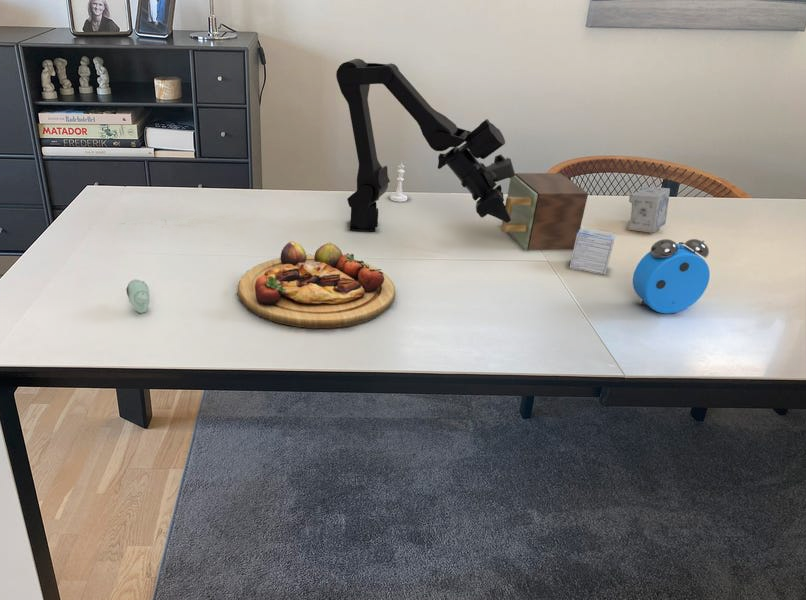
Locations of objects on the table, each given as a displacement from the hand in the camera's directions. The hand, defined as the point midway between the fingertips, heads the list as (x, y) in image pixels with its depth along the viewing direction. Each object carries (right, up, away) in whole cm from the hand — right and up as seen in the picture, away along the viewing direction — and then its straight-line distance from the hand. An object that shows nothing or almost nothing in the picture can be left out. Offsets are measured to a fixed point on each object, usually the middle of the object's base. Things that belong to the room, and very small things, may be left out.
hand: (508, 219), depth 166 cm
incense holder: (+40, +1, +19) cm, 44 cm away
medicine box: (+17, -12, -5) cm, 22 cm away
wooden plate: (-45, -20, -22) cm, 54 cm away
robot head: (-78, -24, -32) cm, 88 cm away
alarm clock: (+26, -23, -21) cm, 41 cm away
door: (+1, -3, +9) cm, 9 cm away
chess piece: (-23, +12, +32) cm, 42 cm away
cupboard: (+10, -2, +10) cm, 15 cm away
